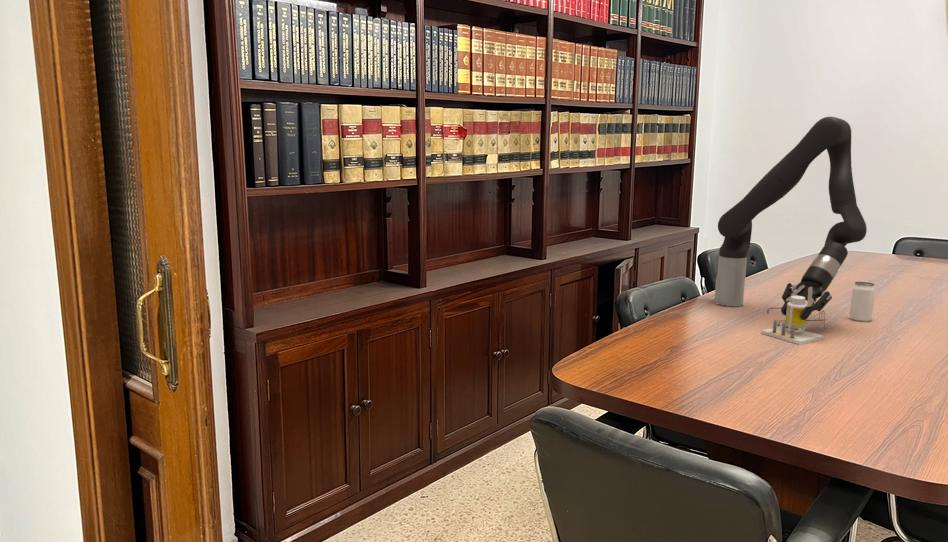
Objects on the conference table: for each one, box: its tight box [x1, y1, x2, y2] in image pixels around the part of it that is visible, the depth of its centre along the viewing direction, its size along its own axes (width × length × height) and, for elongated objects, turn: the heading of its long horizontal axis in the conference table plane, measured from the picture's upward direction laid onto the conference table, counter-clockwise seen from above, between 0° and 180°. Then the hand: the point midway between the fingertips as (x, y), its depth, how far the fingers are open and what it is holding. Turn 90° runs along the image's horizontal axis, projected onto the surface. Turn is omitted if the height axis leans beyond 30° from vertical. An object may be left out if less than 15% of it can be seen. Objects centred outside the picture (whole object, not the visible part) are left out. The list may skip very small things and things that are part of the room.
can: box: [849, 281, 876, 323], centre depth 224 cm, size 6×6×12 cm
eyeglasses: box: [766, 307, 826, 329], centre depth 223 cm, size 16×15×5 cm
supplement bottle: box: [784, 295, 808, 332], centre depth 206 cm, size 6×6×10 cm
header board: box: [761, 319, 825, 345], centre depth 206 cm, size 13×11×5 cm
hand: (792, 316), depth 205 cm, fingers open, 5 cm apart
